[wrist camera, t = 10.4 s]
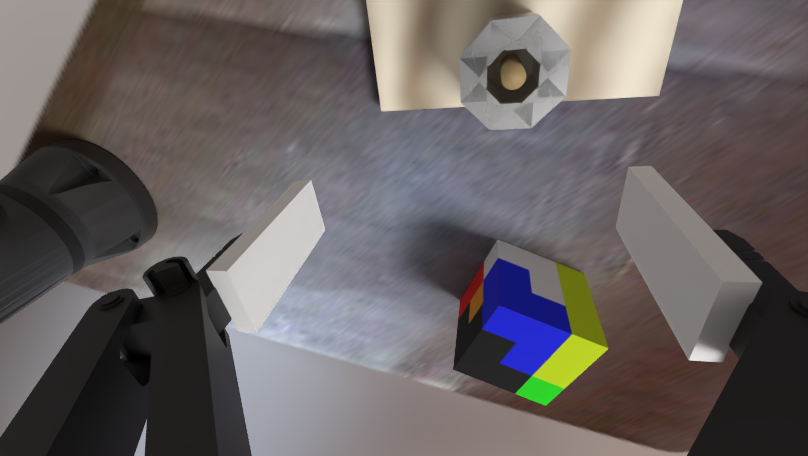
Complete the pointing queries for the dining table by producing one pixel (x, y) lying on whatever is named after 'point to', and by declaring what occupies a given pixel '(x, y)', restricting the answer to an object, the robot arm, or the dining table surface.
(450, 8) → the carrier
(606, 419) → the dining table surface
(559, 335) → the puzzle toy
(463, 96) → the octagonal tube
